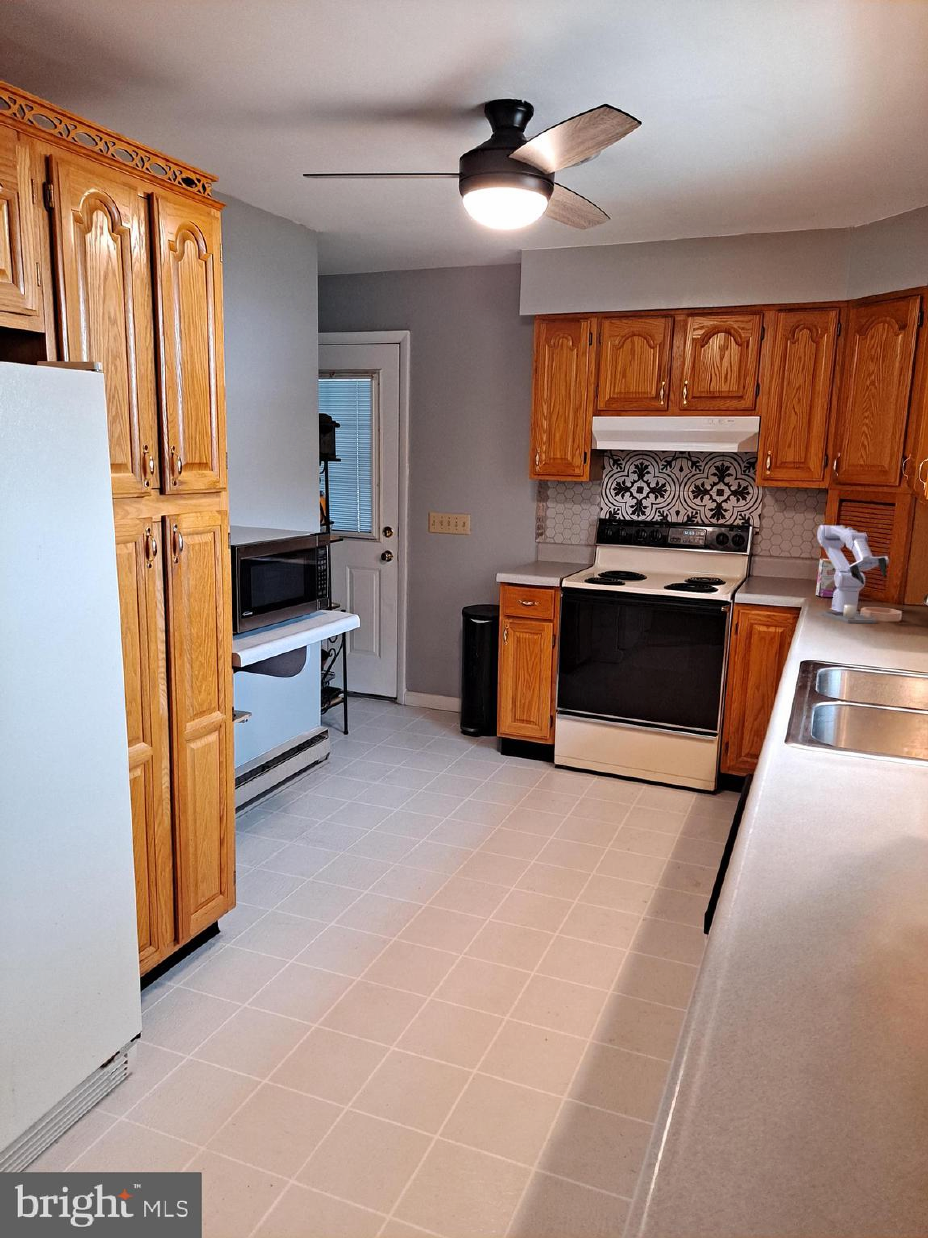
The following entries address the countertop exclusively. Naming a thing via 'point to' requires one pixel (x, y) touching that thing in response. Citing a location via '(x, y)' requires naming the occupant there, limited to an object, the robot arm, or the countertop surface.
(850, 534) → the robot arm
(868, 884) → the countertop surface
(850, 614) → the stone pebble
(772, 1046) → the countertop surface
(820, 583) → the candy bar box
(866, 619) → the parts tray
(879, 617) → the terracotta bowl
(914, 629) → the countertop surface
